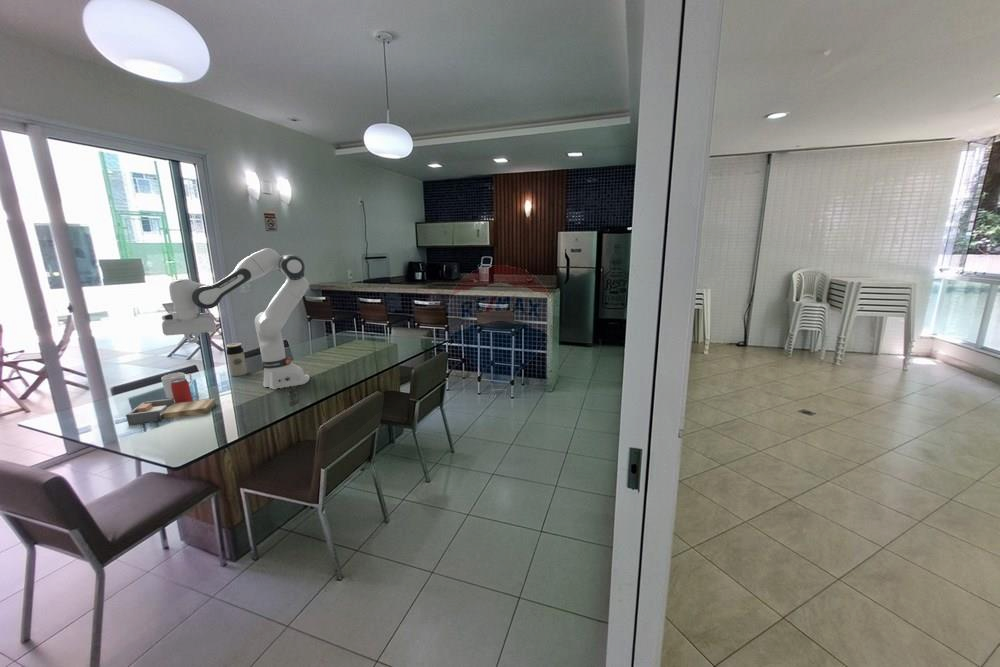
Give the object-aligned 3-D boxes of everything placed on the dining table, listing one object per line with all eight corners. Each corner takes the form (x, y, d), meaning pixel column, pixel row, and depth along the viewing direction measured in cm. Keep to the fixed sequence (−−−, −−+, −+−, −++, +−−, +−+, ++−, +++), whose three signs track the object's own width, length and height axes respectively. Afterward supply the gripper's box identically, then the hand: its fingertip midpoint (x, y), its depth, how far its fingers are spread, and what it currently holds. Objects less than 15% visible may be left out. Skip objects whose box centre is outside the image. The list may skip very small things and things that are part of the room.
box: (175, 408, 180) (173, 398, 178) (160, 421, 167) (157, 410, 165) (146, 411, 176) (143, 401, 175) (128, 425, 163) (125, 415, 162)
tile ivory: (167, 411, 175) (166, 405, 174) (162, 415, 170) (161, 409, 170) (154, 413, 173) (152, 407, 173) (148, 417, 169) (147, 411, 168)
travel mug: (232, 373, 225) (226, 343, 221) (248, 370, 229) (243, 342, 224) (230, 377, 218) (223, 347, 214) (246, 375, 222) (240, 345, 217)
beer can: (196, 401, 187) (190, 378, 184) (181, 407, 181) (175, 383, 178) (187, 399, 189) (181, 377, 186) (172, 405, 183) (166, 382, 180)
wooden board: (215, 404, 183) (214, 398, 182) (206, 413, 173) (205, 407, 172) (175, 409, 178) (174, 403, 178) (164, 419, 168) (162, 413, 167)
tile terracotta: (151, 402, 172) (143, 404, 171) (145, 407, 168) (137, 408, 167) (154, 413, 173) (146, 414, 173) (148, 417, 169) (140, 419, 168)
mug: (172, 401, 188) (167, 379, 185) (162, 398, 191) (157, 377, 188) (199, 392, 198) (194, 371, 195) (189, 389, 202) (184, 369, 199)
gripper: (215, 311, 185) (221, 338, 189) (164, 314, 179) (171, 342, 182) (210, 313, 179) (216, 341, 183) (157, 317, 173) (164, 346, 177)
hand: (193, 342), depth 182 cm, fingers closed
